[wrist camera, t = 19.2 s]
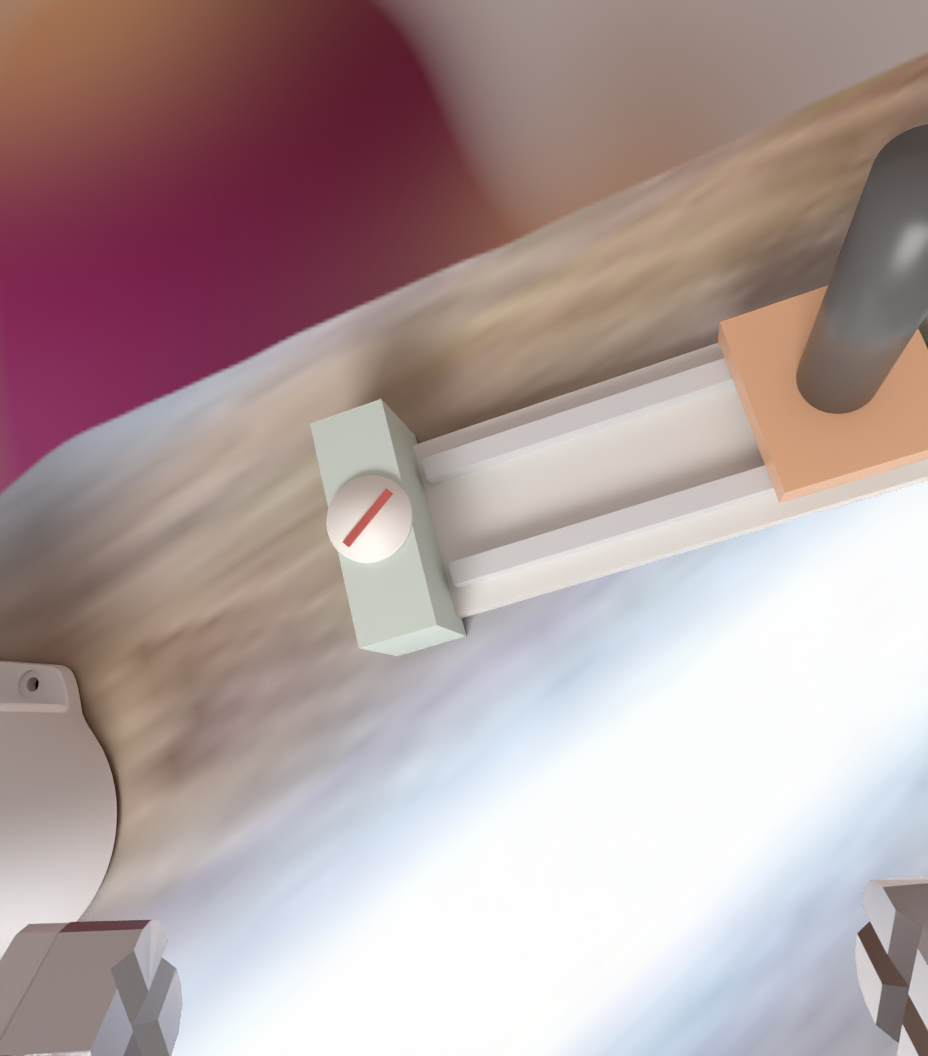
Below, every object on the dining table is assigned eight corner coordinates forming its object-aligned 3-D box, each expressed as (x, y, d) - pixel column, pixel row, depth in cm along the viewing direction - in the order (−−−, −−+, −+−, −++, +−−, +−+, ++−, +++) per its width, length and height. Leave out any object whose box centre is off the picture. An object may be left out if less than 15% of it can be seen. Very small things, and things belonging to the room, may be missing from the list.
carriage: (779, 503, 40) (854, 359, 23) (717, 339, 42) (747, 107, 26) (953, 450, 38) (1159, 260, 22) (879, 285, 41) (1016, 4, 25)
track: (394, 657, 45) (351, 648, 39) (349, 458, 49) (302, 422, 42) (1059, 463, 40) (1131, 417, 33) (957, 252, 43) (1006, 175, 37)
